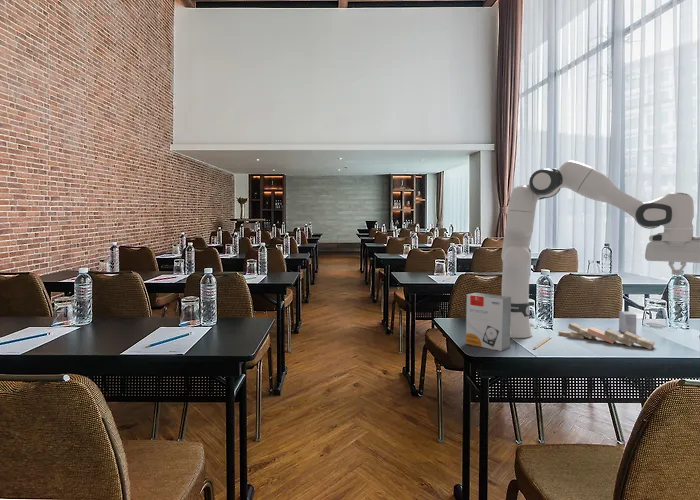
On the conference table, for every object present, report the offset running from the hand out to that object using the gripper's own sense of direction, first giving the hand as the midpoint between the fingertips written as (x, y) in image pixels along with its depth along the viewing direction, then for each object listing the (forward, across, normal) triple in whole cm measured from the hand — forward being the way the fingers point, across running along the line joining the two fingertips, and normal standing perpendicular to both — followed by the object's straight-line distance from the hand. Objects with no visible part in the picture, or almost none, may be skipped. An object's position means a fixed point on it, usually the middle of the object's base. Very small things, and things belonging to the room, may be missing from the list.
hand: (677, 274), depth 173 cm
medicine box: (+29, +22, -24) cm, 44 cm away
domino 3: (+28, +20, 0) cm, 34 cm away
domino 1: (+28, +31, 0) cm, 42 cm away
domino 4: (+28, +14, 0) cm, 31 cm away
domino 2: (+28, +28, 0) cm, 39 cm away
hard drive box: (+29, +53, +41) cm, 73 cm away
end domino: (+28, +7, 0) cm, 29 cm away
